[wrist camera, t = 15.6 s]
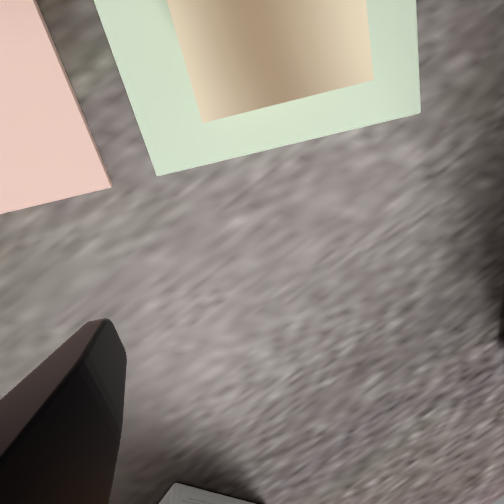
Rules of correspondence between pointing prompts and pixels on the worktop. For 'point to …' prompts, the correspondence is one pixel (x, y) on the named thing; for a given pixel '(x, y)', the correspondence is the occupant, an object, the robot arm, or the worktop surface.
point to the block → (270, 50)
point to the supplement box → (196, 496)
